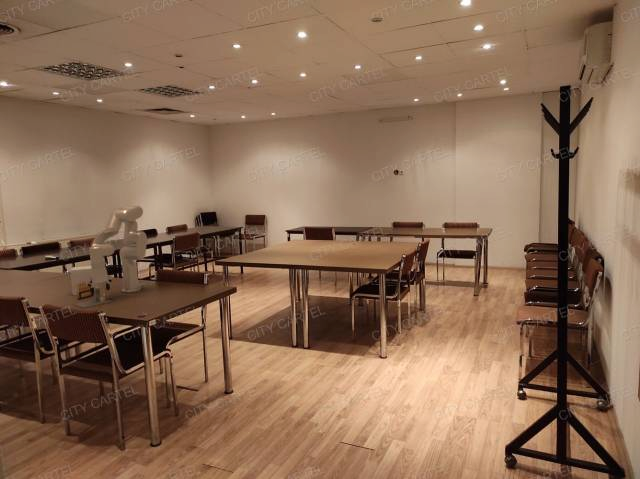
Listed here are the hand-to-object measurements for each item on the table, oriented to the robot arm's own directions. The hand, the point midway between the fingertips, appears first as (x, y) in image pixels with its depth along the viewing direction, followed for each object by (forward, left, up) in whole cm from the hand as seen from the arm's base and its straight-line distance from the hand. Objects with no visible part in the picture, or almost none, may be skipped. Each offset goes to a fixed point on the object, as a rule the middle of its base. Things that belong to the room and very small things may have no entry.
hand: (100, 291), depth 297 cm
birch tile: (0, 0, -6) cm, 6 cm away
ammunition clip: (+2, -20, -7) cm, 21 cm away
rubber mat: (+6, 0, -7) cm, 9 cm away
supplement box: (-6, -36, -7) cm, 37 cm away
